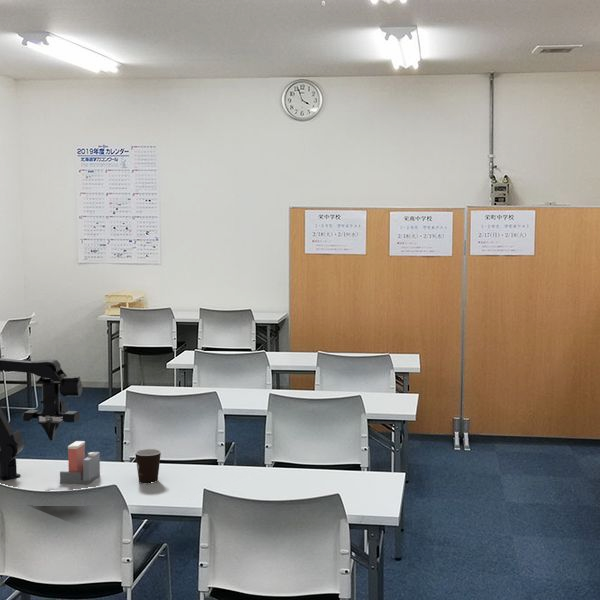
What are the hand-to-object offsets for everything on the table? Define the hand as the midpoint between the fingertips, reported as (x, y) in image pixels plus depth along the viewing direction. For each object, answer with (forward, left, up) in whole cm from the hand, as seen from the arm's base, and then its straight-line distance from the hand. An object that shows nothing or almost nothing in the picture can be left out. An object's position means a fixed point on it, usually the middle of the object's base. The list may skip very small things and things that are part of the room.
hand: (51, 440), depth 267 cm
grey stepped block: (+10, +4, -13) cm, 17 cm away
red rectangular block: (+9, +4, -11) cm, 15 cm away
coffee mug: (+28, +20, -13) cm, 37 cm away
